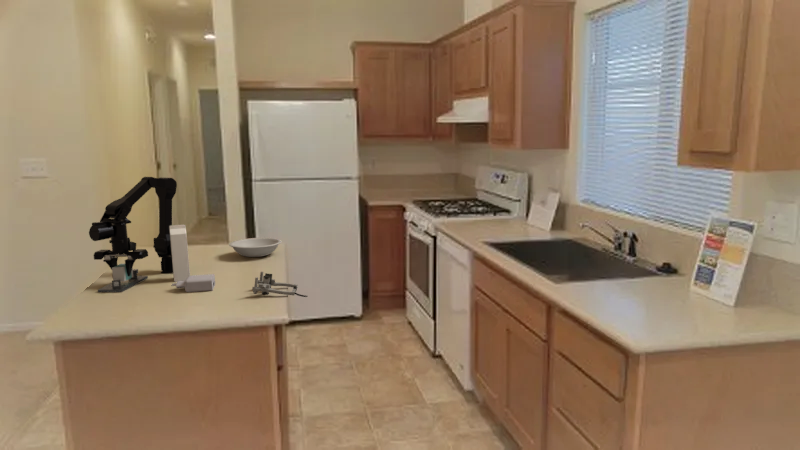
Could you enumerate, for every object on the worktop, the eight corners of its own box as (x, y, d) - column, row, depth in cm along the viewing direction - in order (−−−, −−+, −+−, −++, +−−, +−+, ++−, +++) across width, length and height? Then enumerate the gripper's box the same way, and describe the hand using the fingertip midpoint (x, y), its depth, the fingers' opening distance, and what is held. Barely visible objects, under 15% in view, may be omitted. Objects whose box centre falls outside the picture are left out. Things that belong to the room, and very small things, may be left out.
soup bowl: (276, 261, 259) (275, 247, 258) (223, 262, 259) (222, 247, 258) (287, 250, 283) (286, 237, 282) (238, 251, 283) (237, 237, 282)
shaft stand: (147, 278, 233) (146, 268, 232) (121, 292, 213) (120, 281, 212) (126, 278, 233) (125, 268, 232) (97, 292, 213) (96, 281, 212)
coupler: (124, 281, 219) (123, 267, 218) (113, 281, 219) (111, 267, 218) (133, 276, 226) (132, 263, 225) (122, 276, 226) (121, 263, 225)
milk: (190, 280, 228) (186, 225, 225) (174, 282, 226) (169, 226, 222) (189, 276, 234) (185, 223, 230) (173, 278, 232) (169, 224, 228)
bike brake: (249, 296, 201) (306, 303, 203) (251, 277, 200) (308, 284, 202) (257, 286, 215) (311, 293, 216) (259, 268, 214) (313, 275, 215)
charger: (174, 287, 218) (215, 285, 221) (169, 294, 209) (212, 291, 212) (173, 275, 217) (214, 273, 220) (168, 281, 208) (211, 279, 211)
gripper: (152, 232, 227) (156, 270, 230) (106, 232, 228) (110, 271, 231) (139, 237, 216) (143, 277, 219) (90, 238, 217) (95, 278, 220)
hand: (123, 276), depth 222 cm, fingers closed on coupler, 4 cm apart
